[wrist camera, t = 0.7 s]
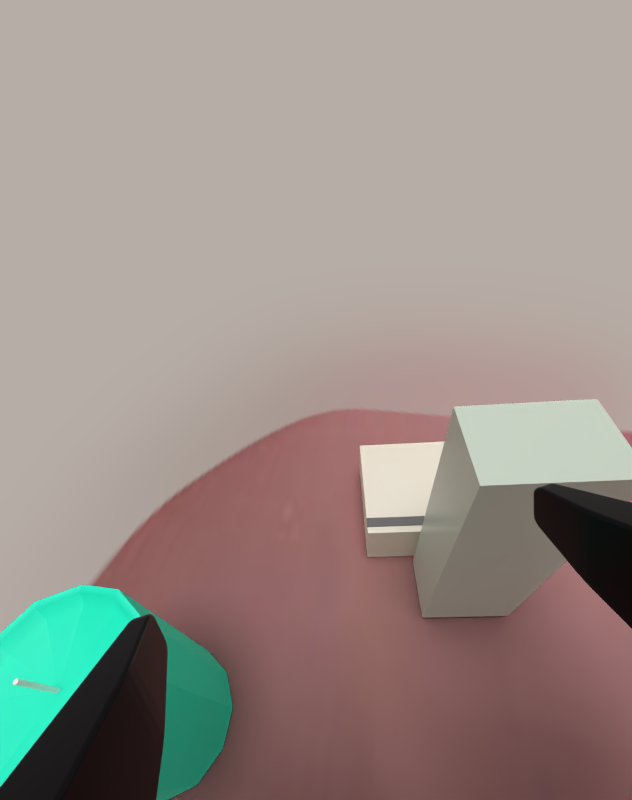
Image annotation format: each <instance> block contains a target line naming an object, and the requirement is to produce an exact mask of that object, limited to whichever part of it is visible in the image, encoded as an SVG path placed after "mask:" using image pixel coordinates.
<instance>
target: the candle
mask: <svg viewBox="0 0 632 800" xmlns="http://www.w3.org/2000/svg"><path fill="white" fill-rule="evenodd" d="M147 614H152V615H153V616H154V617H155V619H156V621H157V623H158V625H159V627H160V629H161V631H162V633H163V635H164V637H165V640H166V643H167V648H168V660H167V687H166V713H165V733H164V744H163V753H162V761H161V768H160V775H159V783H158V790H157V798H156V800H168V799H170V798H172V797H174V796H176V795H178V794H180V793H182V792H184V791H186V790H188V789H190V788H192V787H194V786H196V785H197V784H198V783H199V782H200V780H201V779H202V777H203V776H204V775H205V773H206V772H207V770H208V769H209V768H210V766H211V765H212V763H213V762H214V761H215V759H216V758H217V756H218V755H219V754H220V752H221V751H222V749H223V746H224V742H225V738H226V734H227V730H228V725H229V721H230V717H231V713H232V709H233V706H232V700H231V694H230V688H229V682H228V676H227V672H226V671H225V670H224V669H223V668H222V666H221V665H220V664H219V663H218V662H217V661H216V659H215V658H214V657H213V656H212V655H211V654H210V652H209V651H208V650H206V649H205V648H203V647H202V646H200V645H199V644H197V643H196V642H194V641H193V640H191V639H190V638H189V637H187V636H186V635H184V634H183V633H181V632H180V631H178V630H177V629H175V628H174V627H173V626H171V625H170V624H168V623H167V622H165V621H164V620H162V619H161V618H159V617H158V616H156V615H155V614H154V613H152V612H151V611H149V610H148V609H146V608H145V607H143V606H142V605H140V604H139V603H138V602H136V601H135V600H133V599H132V598H130V597H129V596H127V595H126V594H124V593H123V592H121V591H120V590H119V589H111V588H104V587H96V586H89V585H80V586H77V587H74V588H72V589H69V590H66V591H63V592H61V593H58V594H55V595H53V596H50V597H47V598H44V599H42V600H39V601H36V602H34V603H33V604H32V605H31V606H30V607H29V608H28V609H27V610H25V611H24V612H23V613H22V614H21V615H20V616H19V617H18V618H17V619H15V620H14V621H13V622H12V623H11V624H10V625H9V626H8V627H7V628H6V629H5V630H3V631H2V632H1V633H0V787H1V785H2V784H3V783H4V782H5V780H6V779H7V778H8V776H9V775H10V774H11V773H12V771H13V770H14V769H15V767H16V766H17V765H18V764H19V762H20V761H21V760H22V758H23V757H24V756H25V755H26V753H27V752H28V751H29V749H30V748H31V747H32V746H33V744H34V743H35V742H36V741H37V739H38V738H39V737H40V735H41V734H42V733H43V732H44V730H45V729H46V728H47V726H48V725H49V724H50V723H51V721H52V720H53V719H54V717H55V716H56V715H57V714H58V712H59V711H60V710H61V708H62V707H63V706H64V705H65V703H66V702H67V701H68V700H69V698H70V697H71V696H72V694H73V693H74V692H75V691H76V689H77V688H78V687H79V685H80V684H81V683H82V682H83V680H84V679H85V678H86V676H87V675H88V674H89V673H90V671H91V670H92V669H93V667H94V666H95V665H96V664H97V662H98V661H99V660H100V659H101V657H102V656H103V655H104V653H105V652H106V651H107V650H108V648H109V647H110V646H111V644H112V643H113V642H114V641H115V639H116V638H117V637H118V635H119V634H120V633H121V632H122V630H123V629H124V628H125V626H126V625H127V624H128V623H129V622H130V621H131V620H132V619H134V618H138V617H141V616H144V615H147Z"/></svg>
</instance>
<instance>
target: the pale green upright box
mask: <svg viewBox="0 0 632 800" xmlns="http://www.w3.org/2000/svg"><path fill="white" fill-rule="evenodd" d="M549 483H554V484H558V485H562V486H566V487H570V488H574V489H579V490H583V491H587V492H591V493H595V494H599V495H603V496H607V497H611V498H615V499H619V500H623V501H627V502H629V501H630V500H631V499H632V448H631V446H630V445H629V444H628V442H627V441H626V439H625V438H624V436H623V435H622V434H621V432H620V431H619V429H618V428H617V426H616V425H615V424H614V422H613V421H612V419H611V418H610V417H609V415H608V414H607V412H606V411H605V409H604V408H603V407H602V405H601V404H600V402H599V401H598V399H586V400H568V401H550V402H532V403H513V404H497V405H477V406H459V407H454V408H453V411H452V415H451V419H450V423H449V427H448V430H447V434H446V438H445V442H444V445H443V449H442V453H441V457H440V461H439V464H438V468H437V472H436V476H435V479H434V483H433V487H432V491H431V495H430V498H429V502H428V506H427V510H426V513H425V517H424V521H423V525H422V528H421V532H420V536H419V538H418V544H417V547H416V551H415V555H414V559H413V567H414V573H415V579H416V584H417V590H418V596H419V602H420V608H421V614H422V618H423V617H477V616H509V615H510V614H511V613H512V612H513V611H514V610H515V609H516V608H517V607H518V606H519V605H520V604H521V603H522V602H523V601H524V600H526V599H527V598H528V597H529V596H530V595H531V594H532V593H533V592H534V591H535V590H536V589H537V588H538V587H539V586H540V585H541V584H542V583H543V582H545V581H546V580H547V579H548V578H549V577H550V576H551V575H552V574H553V573H554V572H555V571H556V570H557V569H558V568H559V567H560V566H561V565H563V564H564V563H565V562H566V561H567V560H566V559H565V557H564V556H563V555H562V554H561V553H560V552H559V550H558V549H557V548H556V547H555V546H554V544H553V543H552V542H551V541H550V540H549V538H548V537H547V536H546V535H545V534H544V533H543V531H542V530H541V529H540V528H539V526H538V525H537V523H536V521H535V519H534V490H535V489H536V488H537V487H540V486H543V485H546V484H549Z"/></svg>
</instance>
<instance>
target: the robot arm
mask: <svg viewBox="0 0 632 800" xmlns="http://www.w3.org/2000/svg"><path fill="white" fill-rule="evenodd" d="M534 519H535V521H536V523H537V525H538V526H539V528H540V529H541V530H542V531H543V533H544V534H545V535H546V536H547V537H548V538H549V540H550V541H551V542H552V543H553V544H554V546H555V547H556V548H557V549H558V550H559V552H560V553H561V554H562V555H563V556H564V557H565V559H566V560H567V561H568V562H569V563H570V565H571V566H572V567H573V568H574V569H575V571H576V572H577V573H578V574H579V575H580V576H581V577H582V579H583V580H584V581H585V582H586V583H587V584H588V585H589V586H590V587H591V588H592V589H593V590H594V591H595V592H596V593H597V594H598V595H599V596H600V597H601V598H602V599H603V600H604V601H605V602H606V603H607V604H608V605H609V606H610V607H611V608H612V609H613V610H614V611H615V612H616V613H617V614H618V615H619V616H620V617H621V618H622V619H623V620H624V621H625V622H626V623H627V624H628V625H629V626H630V627H631V628H632V502H627V501H623V500H619V499H615V498H611V497H607V496H603V495H599V494H595V493H591V492H587V491H583V490H579V489H574V488H570V487H566V486H562V485H558V484H554V483H549V484H546V485H543V486H540V487H537V488H536V489H535V490H534ZM167 660H168V648H167V643H166V640H165V637H164V635H163V633H162V631H161V629H160V627H159V625H158V623H157V621H156V619H155V617H154V616H153V615H152V614H147V615H144V616H141V617H138V618H134V619H132V620H131V621H130V622H129V623H128V624H127V625H126V626H125V628H124V629H123V630H122V632H121V633H120V634H119V635H118V637H117V638H116V639H115V641H114V642H113V643H112V644H111V646H110V647H109V648H108V650H107V651H106V652H105V653H104V655H103V656H102V657H101V659H100V660H99V661H98V662H97V664H96V665H95V666H94V667H93V669H92V670H91V671H90V673H89V674H88V675H87V676H86V678H85V679H84V680H83V682H82V683H81V684H80V685H79V687H78V688H77V689H76V691H75V692H74V693H73V694H72V696H71V697H70V698H69V700H68V701H67V702H66V703H65V705H64V706H63V707H62V708H61V710H60V711H59V712H58V714H57V715H56V716H55V717H54V719H53V720H52V721H51V723H50V724H49V725H48V726H47V728H46V729H45V730H44V732H43V733H42V734H41V735H40V737H39V738H38V739H37V741H36V742H35V743H34V744H33V746H32V747H31V748H30V749H29V751H28V752H27V753H26V755H25V756H24V757H23V758H22V760H21V761H20V762H19V764H18V765H17V766H16V767H15V769H14V770H13V771H12V773H11V774H10V775H9V776H8V778H7V779H6V780H5V782H4V783H3V784H2V785H1V787H0V800H156V798H157V790H158V783H159V775H160V768H161V761H162V753H163V744H164V733H165V713H166V687H167Z"/></svg>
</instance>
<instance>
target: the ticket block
mask: <svg viewBox="0 0 632 800" xmlns="http://www.w3.org/2000/svg"><path fill="white" fill-rule="evenodd" d="M443 445H444V442H428V443H408V444H388V445H367V446H360V480H361V492H362V503H363V514H364V526H365V537H366V549H367V557H389V556H414V555H415V551H416V547H417V544H418V538H419V536H420V532H421V528H422V525H423V521H424V517H425V513H426V510H427V506H428V502H429V498H430V495H431V491H432V487H433V483H434V479H435V476H436V472H437V468H438V464H439V461H440V457H441V453H442V449H443Z"/></svg>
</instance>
